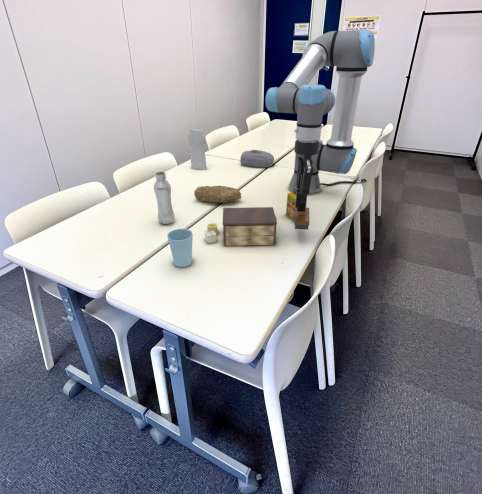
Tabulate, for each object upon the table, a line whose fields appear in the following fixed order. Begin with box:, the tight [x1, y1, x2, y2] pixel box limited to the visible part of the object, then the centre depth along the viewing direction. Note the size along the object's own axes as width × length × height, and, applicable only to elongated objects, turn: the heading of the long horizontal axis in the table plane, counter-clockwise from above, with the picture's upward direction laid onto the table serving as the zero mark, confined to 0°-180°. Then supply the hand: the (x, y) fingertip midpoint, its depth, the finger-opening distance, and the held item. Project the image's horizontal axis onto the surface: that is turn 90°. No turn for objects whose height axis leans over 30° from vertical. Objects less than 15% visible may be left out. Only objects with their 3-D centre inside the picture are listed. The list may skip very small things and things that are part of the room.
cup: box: [166, 228, 194, 268], centre depth 101 cm, size 8×8×10 cm
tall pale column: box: [187, 128, 207, 171], centre depth 181 cm, size 11×4×22 cm, turn 68°
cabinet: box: [222, 206, 278, 247], centre depth 115 cm, size 18×14×9 cm
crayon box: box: [285, 188, 297, 222], centre depth 128 cm, size 7×3×12 cm, turn 23°
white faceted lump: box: [204, 230, 217, 244], centre depth 114 cm, size 4×4×3 cm
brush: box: [293, 198, 310, 231], centre depth 111 cm, size 5×11×13 cm, turn 170°
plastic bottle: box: [153, 171, 176, 225], centre depth 123 cm, size 6×7×20 cm
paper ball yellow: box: [206, 222, 218, 235], centre depth 119 cm, size 4×4×3 cm
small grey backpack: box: [239, 149, 275, 168], centre depth 191 cm, size 15×8×20 cm
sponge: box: [193, 185, 242, 204], centre depth 144 cm, size 13×8×20 cm
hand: (300, 209), depth 112 cm, fingers closed on brush, 2 cm apart
